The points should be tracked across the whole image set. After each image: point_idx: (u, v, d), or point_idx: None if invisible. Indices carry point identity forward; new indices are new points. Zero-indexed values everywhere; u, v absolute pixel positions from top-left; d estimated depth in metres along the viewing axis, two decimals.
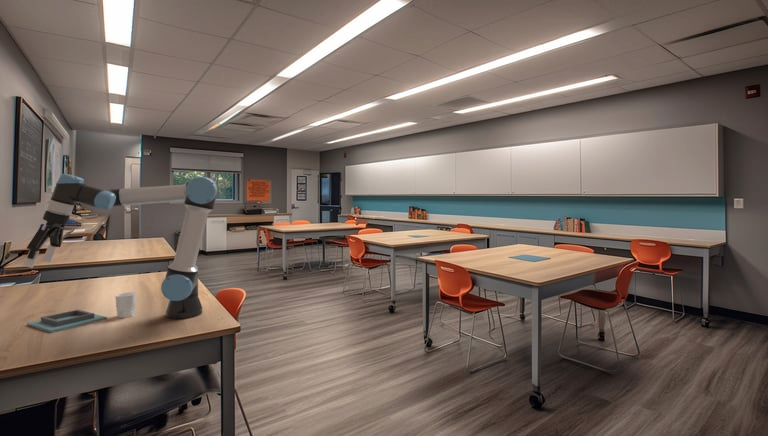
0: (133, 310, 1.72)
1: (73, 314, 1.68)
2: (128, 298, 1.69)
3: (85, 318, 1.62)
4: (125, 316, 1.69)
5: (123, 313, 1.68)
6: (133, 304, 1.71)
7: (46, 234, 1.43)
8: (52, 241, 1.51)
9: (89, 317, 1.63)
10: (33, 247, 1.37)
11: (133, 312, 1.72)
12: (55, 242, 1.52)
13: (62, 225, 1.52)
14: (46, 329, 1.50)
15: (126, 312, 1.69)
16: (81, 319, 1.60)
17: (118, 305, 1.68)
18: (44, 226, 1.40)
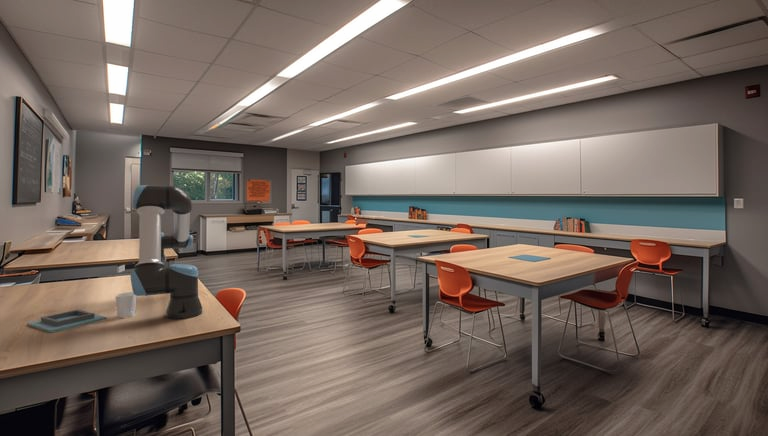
0: (133, 310, 1.72)
1: (73, 314, 1.68)
2: (128, 298, 1.69)
3: (85, 318, 1.62)
4: (125, 316, 1.69)
5: (123, 313, 1.68)
6: (133, 304, 1.71)
7: (135, 264, 1.92)
8: None
9: (89, 317, 1.63)
10: None
11: (133, 312, 1.72)
12: None
13: None
14: (46, 329, 1.50)
15: (126, 312, 1.69)
16: (81, 319, 1.60)
17: (118, 305, 1.68)
18: None
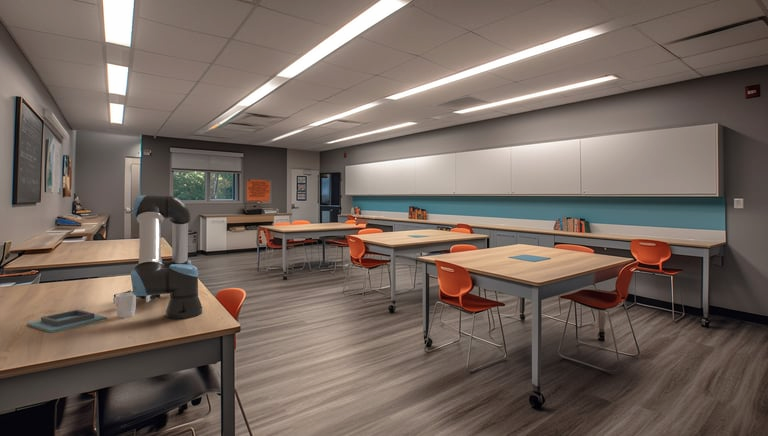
0: (133, 310, 1.72)
1: (73, 314, 1.68)
2: (128, 298, 1.69)
3: (85, 318, 1.62)
4: (125, 316, 1.69)
5: (123, 313, 1.68)
6: (133, 304, 1.71)
7: None
8: None
9: (89, 317, 1.63)
10: None
11: (133, 312, 1.72)
12: None
13: None
14: (46, 329, 1.50)
15: (126, 312, 1.69)
16: (81, 319, 1.60)
17: (118, 305, 1.68)
18: None
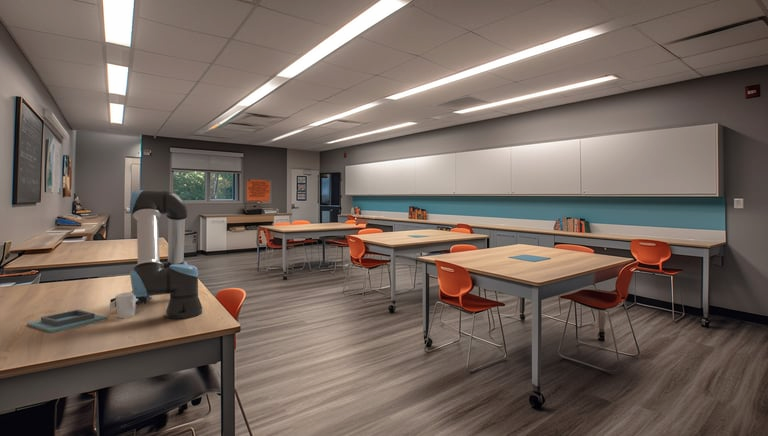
0: (133, 310, 1.72)
1: (73, 314, 1.68)
2: (128, 298, 1.69)
3: (85, 318, 1.62)
4: (125, 316, 1.69)
5: (123, 313, 1.68)
6: None
7: None
8: None
9: (89, 317, 1.63)
10: None
11: (133, 312, 1.72)
12: (138, 298, 1.76)
13: None
14: (46, 329, 1.50)
15: (126, 312, 1.69)
16: (81, 319, 1.60)
17: (118, 305, 1.68)
18: None
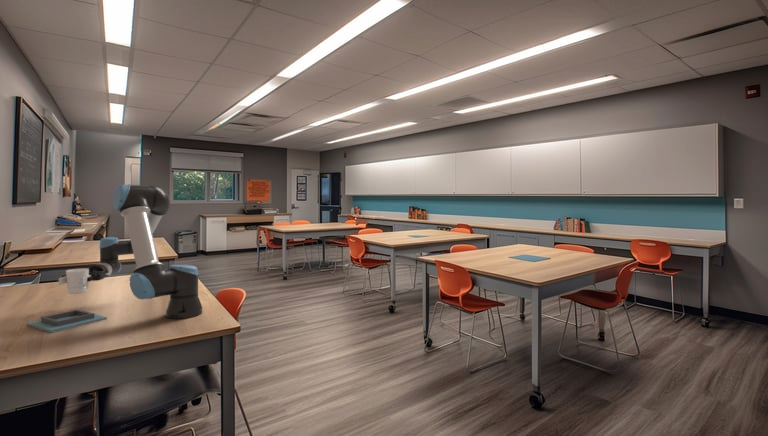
0: (85, 286, 1.64)
1: (73, 314, 1.68)
2: (78, 273, 1.61)
3: (85, 318, 1.62)
4: (76, 292, 1.61)
5: (74, 289, 1.61)
6: None
7: None
8: None
9: (89, 317, 1.63)
10: None
11: (85, 289, 1.64)
12: None
13: None
14: (46, 329, 1.50)
15: (77, 288, 1.61)
16: (81, 319, 1.60)
17: (68, 281, 1.61)
18: None
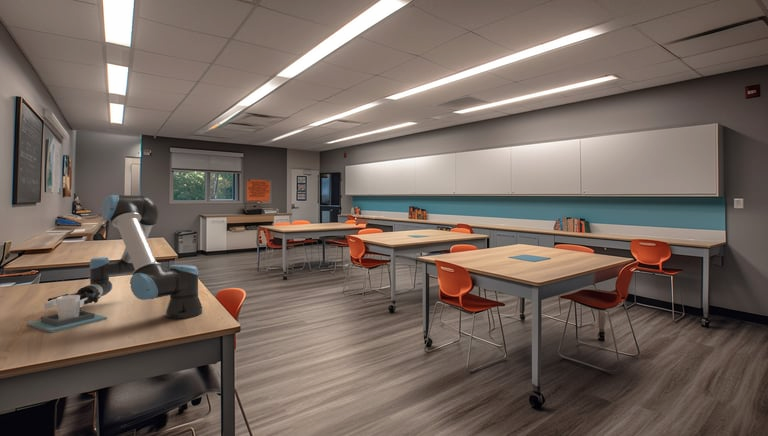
0: (76, 313, 1.62)
1: None
2: (69, 300, 1.59)
3: (85, 318, 1.62)
4: None
5: (65, 317, 1.58)
6: (76, 307, 1.61)
7: None
8: None
9: (89, 317, 1.63)
10: None
11: (76, 316, 1.62)
12: None
13: None
14: (46, 329, 1.50)
15: (68, 316, 1.59)
16: (81, 319, 1.60)
17: (59, 308, 1.58)
18: None
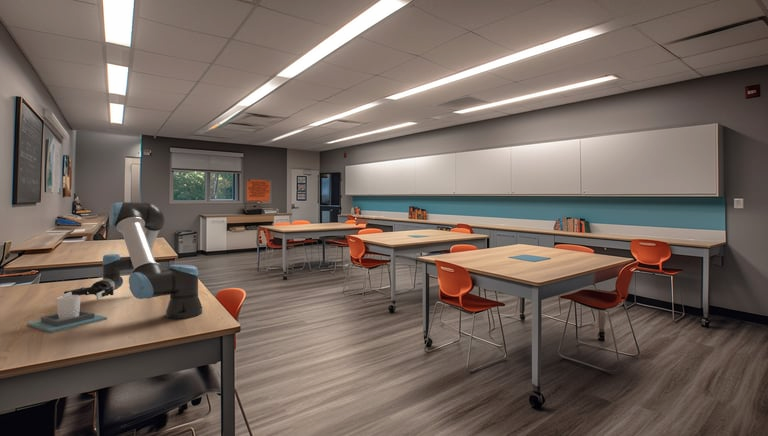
0: (76, 314, 1.62)
1: None
2: (69, 301, 1.59)
3: (85, 318, 1.62)
4: None
5: (65, 317, 1.58)
6: (76, 307, 1.61)
7: None
8: None
9: (89, 317, 1.63)
10: None
11: (76, 316, 1.62)
12: (103, 291, 1.80)
13: None
14: (46, 329, 1.50)
15: (68, 316, 1.59)
16: (81, 319, 1.60)
17: (59, 308, 1.58)
18: None
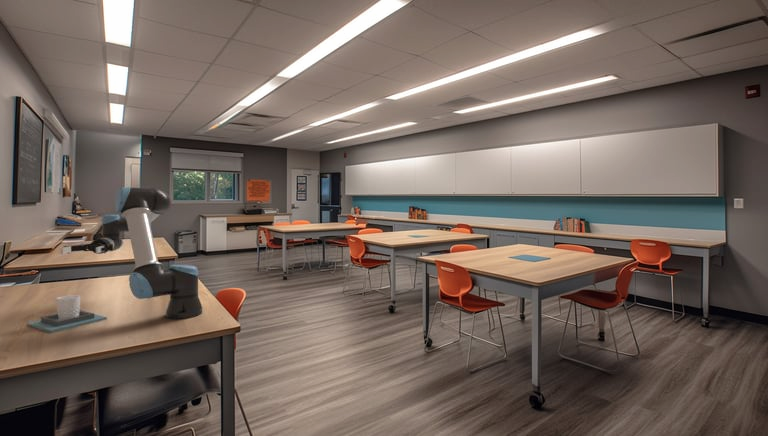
0: (76, 314, 1.62)
1: None
2: (69, 301, 1.59)
3: (85, 318, 1.62)
4: None
5: (65, 317, 1.58)
6: (76, 307, 1.61)
7: None
8: None
9: (89, 317, 1.63)
10: None
11: (76, 316, 1.62)
12: None
13: None
14: (46, 329, 1.50)
15: (68, 316, 1.59)
16: (81, 319, 1.60)
17: (59, 308, 1.58)
18: None
